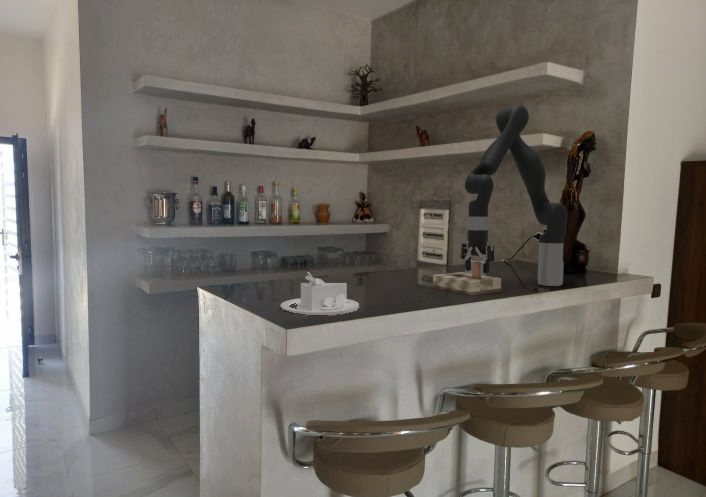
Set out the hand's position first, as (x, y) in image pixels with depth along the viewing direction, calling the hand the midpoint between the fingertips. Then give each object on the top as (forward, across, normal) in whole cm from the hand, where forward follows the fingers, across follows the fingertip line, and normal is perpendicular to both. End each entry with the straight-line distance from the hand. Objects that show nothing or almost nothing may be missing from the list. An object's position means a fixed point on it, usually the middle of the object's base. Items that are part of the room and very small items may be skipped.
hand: (476, 271), depth 192 cm
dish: (+8, +7, +64) cm, 65 cm away
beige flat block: (+7, +5, 0) cm, 9 cm away
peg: (+6, 0, 0) cm, 6 cm away
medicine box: (+8, +17, -18) cm, 26 cm away
